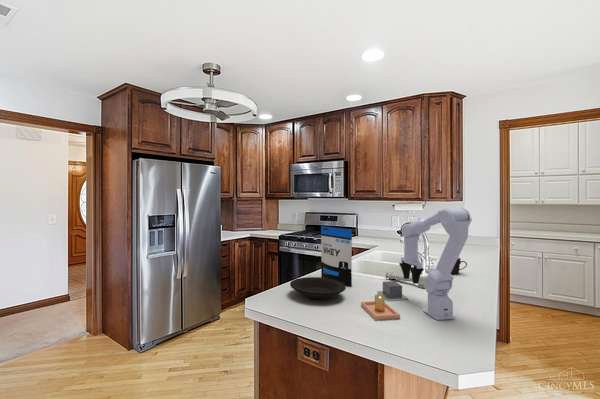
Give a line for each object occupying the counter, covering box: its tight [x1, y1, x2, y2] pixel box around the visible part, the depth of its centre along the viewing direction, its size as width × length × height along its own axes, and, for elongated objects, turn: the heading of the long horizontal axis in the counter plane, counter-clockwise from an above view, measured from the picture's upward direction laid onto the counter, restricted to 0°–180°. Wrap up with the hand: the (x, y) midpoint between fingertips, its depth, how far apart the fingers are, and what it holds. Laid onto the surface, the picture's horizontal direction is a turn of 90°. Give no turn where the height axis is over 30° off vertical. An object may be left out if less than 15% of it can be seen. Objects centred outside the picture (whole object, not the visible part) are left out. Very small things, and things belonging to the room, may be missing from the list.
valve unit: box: [376, 280, 409, 302], centre depth 148 cm, size 12×10×6 cm
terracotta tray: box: [360, 300, 401, 321], centre depth 128 cm, size 16×10×2 cm, turn 9°
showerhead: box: [424, 266, 435, 275], centre depth 172 cm, size 9×7×10 cm
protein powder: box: [320, 225, 353, 288], centre depth 172 cm, size 10×24×30 cm, turn 37°
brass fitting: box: [374, 294, 386, 313], centre depth 128 cm, size 4×4×6 cm
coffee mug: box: [451, 256, 468, 276], centre depth 187 cm, size 12×9×10 cm
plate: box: [289, 276, 347, 301], centre depth 148 cm, size 28×24×6 cm
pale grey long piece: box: [385, 271, 427, 289], centre depth 169 cm, size 5×7×25 cm
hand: (410, 280), depth 140 cm, fingers open, 7 cm apart
